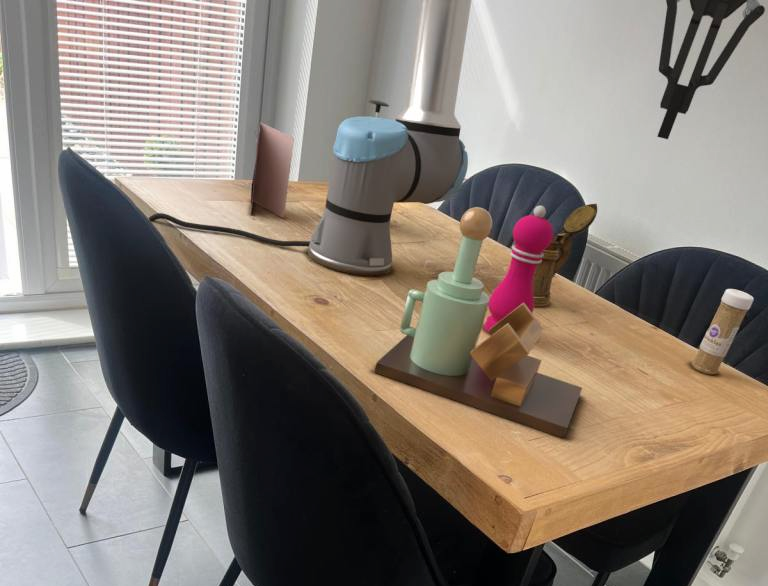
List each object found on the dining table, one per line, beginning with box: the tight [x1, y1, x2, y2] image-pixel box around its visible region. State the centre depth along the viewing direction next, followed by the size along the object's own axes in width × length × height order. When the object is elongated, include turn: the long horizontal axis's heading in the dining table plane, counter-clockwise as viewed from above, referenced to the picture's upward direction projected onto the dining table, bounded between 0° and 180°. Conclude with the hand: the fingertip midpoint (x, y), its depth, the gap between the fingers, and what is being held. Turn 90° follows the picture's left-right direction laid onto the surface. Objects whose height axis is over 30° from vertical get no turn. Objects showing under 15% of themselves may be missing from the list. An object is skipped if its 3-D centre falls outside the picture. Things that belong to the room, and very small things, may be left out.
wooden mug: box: [533, 203, 598, 307], centre depth 138 cm, size 9×14×18 cm, turn 111°
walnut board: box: [374, 335, 583, 439], centre depth 104 cm, size 26×15×2 cm, turn 69°
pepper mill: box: [484, 205, 554, 334], centre depth 118 cm, size 7×7×20 cm
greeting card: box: [250, 122, 295, 219], centre depth 151 cm, size 11×7×15 cm, turn 6°
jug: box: [399, 206, 493, 376], centre depth 99 cm, size 16×8×20 cm
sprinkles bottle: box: [691, 288, 755, 375], centre depth 125 cm, size 5×5×14 cm
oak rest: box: [470, 303, 545, 407], centre depth 100 cm, size 8×11×10 cm
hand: (662, 137), depth 106 cm, fingers closed
